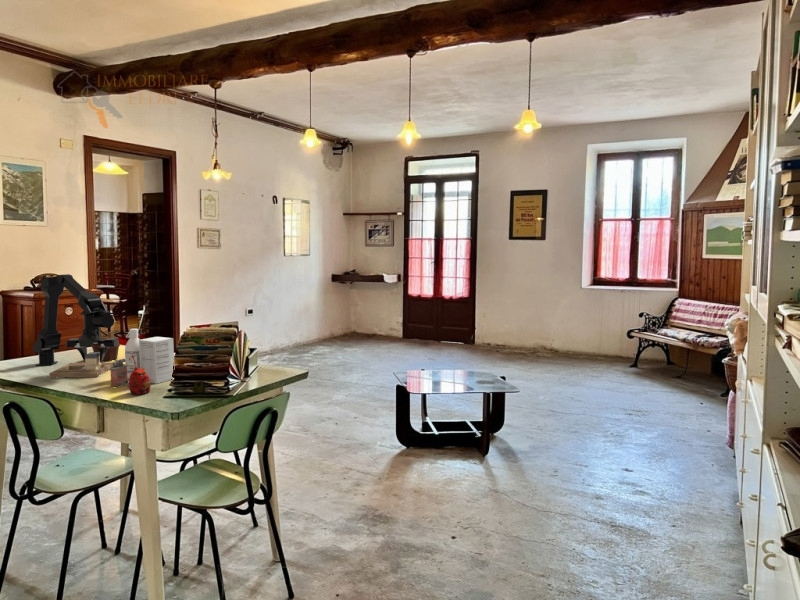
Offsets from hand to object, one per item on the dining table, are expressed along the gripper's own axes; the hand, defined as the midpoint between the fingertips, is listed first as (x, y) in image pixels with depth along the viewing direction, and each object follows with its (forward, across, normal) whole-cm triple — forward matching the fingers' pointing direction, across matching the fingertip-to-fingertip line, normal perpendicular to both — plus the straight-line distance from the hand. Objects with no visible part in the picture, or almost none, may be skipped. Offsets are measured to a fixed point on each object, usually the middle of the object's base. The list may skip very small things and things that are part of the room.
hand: (93, 362), depth 230 cm
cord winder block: (+4, 0, 0) cm, 4 cm away
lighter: (+4, +18, -23) cm, 30 cm away
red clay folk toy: (+4, +29, -35) cm, 46 cm away
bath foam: (+4, +20, -11) cm, 23 cm away
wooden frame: (+4, -4, 0) cm, 6 cm away
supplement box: (+4, +30, -16) cm, 34 cm away
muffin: (+4, -4, +25) cm, 26 cm away
